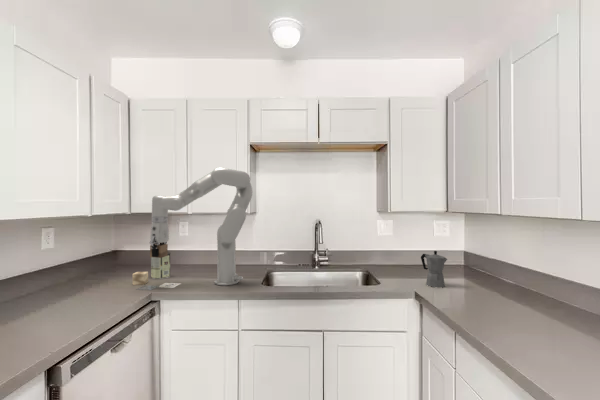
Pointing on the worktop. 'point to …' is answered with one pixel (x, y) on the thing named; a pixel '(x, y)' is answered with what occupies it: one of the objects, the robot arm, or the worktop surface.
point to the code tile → (169, 285)
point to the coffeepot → (434, 269)
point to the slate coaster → (147, 287)
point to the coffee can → (160, 267)
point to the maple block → (140, 278)
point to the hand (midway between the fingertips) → (158, 255)
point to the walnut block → (160, 250)
